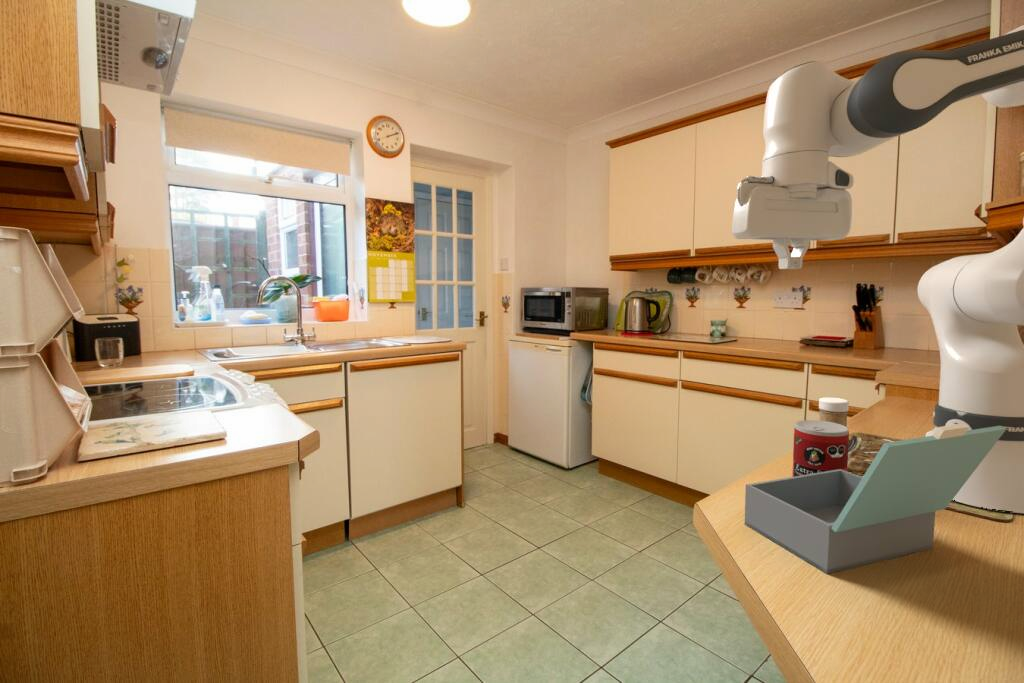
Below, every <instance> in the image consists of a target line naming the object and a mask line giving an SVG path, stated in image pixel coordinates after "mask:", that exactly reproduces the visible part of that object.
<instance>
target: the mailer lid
mask: <svg viewBox="0 0 1024 683" xmlns="http://www.w3.org/2000/svg"><path fill="white" fill-rule="evenodd" d="M968 429H969V426H967V425H966V424H964V423H963V424H956V425H949V426H942V427H938V428H937V430H936V431H935V433H934V434H933V436H927V437H926V436H922V437H914V438H908V439H902V440H895V441H888V442H884V443H883V444H882V446H881V447H880V449H879V451H877V454H875V457H874V458H873V460H872V461H871V463H870V465H869V467H868V468H867V470H866V471H865V473H864V475H863V476H862V477H863V478H862V479H861V481H860V483H859V484H858V486H857V487H856V489H855V491H854V492H853V494H852V495H851V497H850V499H849V500H848V502H847V504H846V505H845V507H844V508H843V510H842V512H841V513H840V515H839V516H838V518H837V520H836V521H835V523H834V525H833V526H832V528H831V529H832V530H834V531H835V532H840V531H845V530H849V529H854V528H859V527H863V526H868V525H873V524H877V523H882V522H887V521H891V520H896V519H901V518H905V517H910V516H915V515H919V514H924V513H929V512H933V511H935V512H936V511H937V512H938V511H943V510H946V509H947V507H948V506H949V504H950V503H951V502H952V501H954V500H953V498H954V497H955V496H956V494H957V493H958V492H959V490H960V489H961V488H962V486H963V485H964V484H965V483H966V481H967V480H968V479H969V477H970V476H971V475H972V473H973V472H974V471H975V469H976V468H977V467H978V466H979V464H980V463H981V462H982V460H983V459H984V458H985V456H986V455H987V454H988V452H989V451H990V450H991V449H992V447H993V446H994V445H995V443H996V442H997V441H998V439H999V438H1000V437H1001V436H1002V434H1003V433H1004V432H1005V430H1006V428H1004V427H1002V426H995V427H988V428H981V429H974V430H968ZM967 430H968V431H967Z"/></svg>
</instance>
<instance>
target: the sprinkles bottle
mask: <svg viewBox="0 0 1024 683" xmlns="http://www.w3.org/2000/svg"><path fill="white" fill-rule="evenodd" d="M849 405H850V404H849V401H848V400H847V399H844V398H841V397H840V398H839V397H832V396H831V397H829V396H828V397H821V398H819V400H818V410H819V418H818V419H819V420H818V421H827V422H833V423H837V424H841V425H843V426H846V427H847V425H848V422H847V420H848V418H847V417H848V411H849V407H850V406H849Z"/></svg>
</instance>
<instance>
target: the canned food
mask: <svg viewBox="0 0 1024 683" xmlns="http://www.w3.org/2000/svg"><path fill="white" fill-rule="evenodd" d="M793 428H794V429H793V430H794V431H793V452H792V453H793V456H792V457H793V458H792V477H795V476H801V475H807V474H813V473H819V472H825V471H832V470H838V469H841V470H844V471H847V472H848V461H849V447H850V446H849V444H850V429H849V427H847V426H843V425H841V424H837V423H833V422H827V421H819V420H818V419H817V420H815V419H807V420H805V419H803V420H799V421H796V422H795V424H794V427H793Z"/></svg>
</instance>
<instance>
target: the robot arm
mask: <svg viewBox="0 0 1024 683" xmlns="http://www.w3.org/2000/svg"><path fill="white" fill-rule="evenodd" d="M978 96H981V97H982V98H983V99H984V100H985V101H986V102H987V103H988V104H990V105H992V106H995V107H997V108H1000V109H1001V108H1004V109H1005V108H1012V107H1020V106H1024V24H1023V25H1021V26H1019V27H1017V28H1015V29H1012V30H1011V31H1008V32H1006V33H1005V34H1003V35H1000V36H995V37H994V38H990V39H987V40H982V41H980V42H977V43H975V42H974V43H973V44H968V45H966V46H962V47H958V48H954V49H953V48H952V49H947V50H929V49H907V50H901V51H897V52H894V53H891V54H889V55H887V56H885V57H883V58H882V59H880V60H879V61H877V62H875V64H874V65H873V66H871V67H870V68H869V69H868V70H867V71H866V72H865V73H864V74H863V75H862V76H861V77H860V78H859V79H858V80H856V81H855V80H851V79H848V78H846V77H844V76H841V74H838V73H837V72H835V71H834V70H832V69H831V68H830V66H829V65H828V64H827V62H825V61H823V60H812V61H807V62H804V63H800V64H798V65H795V66H793V67H792V68H789V69H788V70H786V71H784V72H783V73H781V74H780V75H779V76H778V77H777V78H776V79H775V80H774V81H773V82H772V83H771V84H770V85H769V88H768V90H767V94H766V100H765V104H764V111H763V112H764V114H763V124H762V125H763V128H762V129H763V130H762V131H763V132H762V135H763V136H762V137H763V141H764V145H765V146H764V147H765V149H764V153H763V156H762V160H761V176H756V175H748V176H747V175H746V176H745V178H743V179H741V181H740V182H739V183H738V185H737V188H736V199H735V203H734V208H733V213H732V214H733V215H732V220H731V221H732V222H731V232H732V235H733V237H734V238H735V239H737V240H769V241H771V240H772V248H773V250H774V252H775V254H776V256H777V258H778V269H780V270H798V269H799V270H800V269H801V268H802V267H803V260H804V258H803V257H804V256H805V255H806V253H807V251H808V250H809V248H810V242H811V241H823V242H824V241H836V240H837V241H838V240H844V239H846V238H847V236H848V235H849V233H850V231H851V228H852V217H853V216H852V215H853V200H852V195H851V193H850V192H849V190H850V189H852V188H853V185H854V175H853V174H852V173H850V172H848V171H847V170H844V169H842V168H840V167H839V166H838V165H836V164H835V163H834V162H832V161H829V157H835V158H849V157H854V156H859V155H862V154H864V153H867V152H868V151H871V150H872V149H874V148H876V147H879V146H880V145H882V144H883V145H884V144H885V143H887V142H888V141H890V140H892V139H895V138H897V137H899V136H901V135H904V134H906V133H909V132H912V131H914V130H917V129H919V128H921V127H923V126H924V125H926V124H928V123H929V122H930V121H932V120H934V119H935V118H936V117H938V115H939V114H941V113H942V112H943V111H945V110H946V109H947V108H948V107H950V106H951V105H953V104H955V103H958V102H962V101H964V100H967V99H971V98H974V97H978ZM1022 225H1023V228H1022V229H1021V230H1020V232H1019V233H1018V234H1017V235H1016V236H1015V238H1014V239H1013V240H1012V241H1011V242H1009V243H1008V244H1006V245H1005V246H1003V247H1001V248H999V249H996V250H994V251H992V252H988V253H987V252H986V253H978V254H977V253H976V254H968V255H967V254H966V255H960V256H956V257H952V258H951V259H948V260H944V261H941V262H940V263H938V264H935V265H934V266H932V267H930V268H929V269H928V270H926V271H925V272H924V273H923V275H922V276H921V278H920V279H919V281H918V285H917V296H918V300H919V301H920V304H921V305H922V306H923V307H924V308H925V309H926V310H927V312H928V314H929V316H930V318H931V321H932V325H933V329H934V333H935V336H936V340H937V344H938V349H939V358H940V361H939V362H940V372H939V390H938V402H937V403H935V404H934V409H933V412H932V413H933V414H932V416H933V420H932V421H933V425H934V428H933V429H931V430H929V431H927V432H926V434H925V437H927V436H933V434H934V433H935V431H936V430H937V428H938V427H942V426H949V425H956V424H963V423H964V424H966V425H967V426H969V429H968V430H974V429H981V428H988V427H995V426H1002V427H1004V428H1006V430H1005V432H1004V433H1003V434H1002V436H1001V437H1000V438H999V439H998V441H997V442H996V443H995V445H994V446H993V447H992V449H991V450H990V451H989V452H988V454H987V455H986V456H985V458H984V459H983V460H982V462H981V463H980V464H979V466H978V467H977V468H976V469H975V471H974V472H973V473H972V475H971V476H970V477H969V479H968V480H967V481H966V483H965V484H964V485H963V486H962V488H961V489H960V490H959V492H958V493H957V494H956V496H955V497H954V498H953V500H952V501H954V500H955V501H954V502H958V503H962V504H965V505H968V506H973V507H977V508H981V507H983V508H982V509H986V508H987V510H992V509H996V510H995V511H998V510H1012V511H1013V512H1012V513H1017V514H1024V342H1023V341H1022V339H1021V335H1020V332H1019V328H1018V326H1024V217H1023V219H1022ZM789 246H790V248H793V249H792V251H791V252H790V248H789ZM968 430H967V431H968Z"/></svg>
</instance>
